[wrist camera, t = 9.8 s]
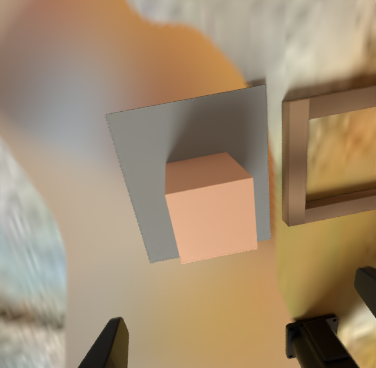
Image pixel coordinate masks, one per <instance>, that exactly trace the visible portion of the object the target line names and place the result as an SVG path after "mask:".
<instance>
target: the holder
mask: <svg viewBox="0 0 376 368" xmlns="http://www.w3.org/2000/svg"><path fill="white" fill-rule="evenodd" d="M371 107H376V84H374V85H369V86H364V87H359V88H353V89H348V90H343V91H338V92H332V93H327V94H322V95H316V96H311V97H306V98H301V99H295V100H290V101H285V102H282V220H283V221H284V222H285V223H286V224H287V225H288V226H289V227H290V226H295V225H300V224H305V223H310V222H315V221H320V220H325V219H330V218H335V217H340V216H345V215H350V214H355V213H360V212H365V211H370V210H375V209H376V188H374V189H369V190H364V191H359V192H354V193H349V194H344V195H339V196H334V197H329V198H324V199H319V200H313V201H308V202H305V197H306V173H307V148H308V124H309V119H314V118H319V117H324V116H329V115H335V114H340V113H345V112H350V111H356V110H361V109H366V108H371Z"/></svg>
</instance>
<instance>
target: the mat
mask: <svg viewBox="0 0 376 368" xmlns="http://www.w3.org/2000/svg"><path fill="white" fill-rule="evenodd" d="M105 118H106V121H107V124H108V127H109V131H110V134H111V137H112V140H113V144H114V147H115V150H116V153H117V156H118V160H119V163H120V166H121V170H122V173H123V176H124V179H125V183H126V186H127V189H128V192H129V196H130V199H131V202H132V205H133V209H134V212H135V215H136V218H137V222H138V225H139V228H140V231H141V235H142V238H143V241H144V244H145V248H146V251H147V254H148V258H149V260H150V263H153V262H158V261H163V260H168V259H173V258H178V257H180V256H179V252H178V247H177V243H176V239H175V235H174V231H173V226H172V222H171V218H170V214H169V210H168V206H167V201H166V197H165V169H166V164H167V163H172V162H177V161H182V160H187V159H192V158H198V157H203V156H208V155H213V154H218V153H223V152H227V153H228V154H229V155H230V156H231V157H232V158H233V159H234V160H235V161H236V162H237V163H238V164H239V165H240V166H241V167H243V168H244V169H245V170H246V171H247V172H248V173H249V174H250V175H251V176H252V177H253V184H254V200H255V216H256V232H257V242H258V241H263V240H268V239H271V235H270V203H269V171H268V138H267V106H266V85H260V86H254V87H249V88H244V89H239V90H234V91H228V92H222V93H217V94H212V95H206V96H201V97H196V98H191V99H185V100H180V101H175V102H169V103H164V104H159V105H153V106H148V107H143V108H138V109H132V110H127V111H122V112H117V113H111V114H106V115H105Z"/></svg>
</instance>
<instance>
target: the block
mask: <svg viewBox="0 0 376 368" xmlns="http://www.w3.org/2000/svg"><path fill="white" fill-rule="evenodd" d="M165 197H166V201H167V206H168V210H169V214H170V218H171V222H172V226H173V231H174V235H175V239H176V243H177V247H178V252H179V256H180V260H181V264H184V263H189V262H194V261H199V260H204V259H209V258H214V257H219V256H224V255H229V254H234V253H238V252H244V251H248V250H254V249H257V232H256V216H255V200H254V184H253V177H252V176H251V175H250V174H249V173H248V172H247V171H246V170H245V169H244V168H243V167H241V166H240V165H239V164H238V163H237V162H236V161H235V160H234V159H233V158H232V157H231V156H230V155H229V154H228V153H227V152H223V153H218V154H213V155H208V156H203V157H198V158H192V159H187V160H182V161H177V162H172V163H167V164H166V169H165Z"/></svg>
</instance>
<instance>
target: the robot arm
mask: <svg viewBox="0 0 376 368" xmlns="http://www.w3.org/2000/svg"><path fill="white" fill-rule="evenodd" d="M354 286H355V289H356V290H357V292H358V293H359V295H360V296H361V298H362V299H363V301H364V302H365V303H366V305H367V306H368V308H369V309H370V311H371V312H372V313H373V315H374V316H375V318H376V269H375V268H373V267H370V266H364V267H359V268H357V270H356V274H355V280H354ZM338 320H339V319H338V317H337V316H336V315H335V314H333V315H328V316H323V317H318V318H313V319H309V320H304V321H299V322H294V323H289V324H287V325H286V356H287V358H289V359H291V358H295V357H296V358H297V360H298V362H299V364H300V366H301V368H360V367H359V366H358V364H357V363H356V362H355V360H354V359H353V357H352V356H351V355H350V353H349V352H348V350H347V349H346V347H345V346H344V345H343V343H342V342H341V340H340V339H339V338H338V336H337V335H336V334H337V327H338ZM128 344H129V333H128V329H127V327H126V324H125V322H124V320H123V318H122V317H116V318H112V319H110V320H109V322H108V323H107V325H106V326H105V328H104V329H103V331H102V332H101V334H100V335H99V337H98V338H97V340H96V341H95V343H94V344H93V346H92V347H91V349H90V350H89V352H88V353H87V355H86V356H85V358H84V359H83V361H82V362H81V364H80V365H79V367H78V368H127V365H128Z"/></svg>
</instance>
